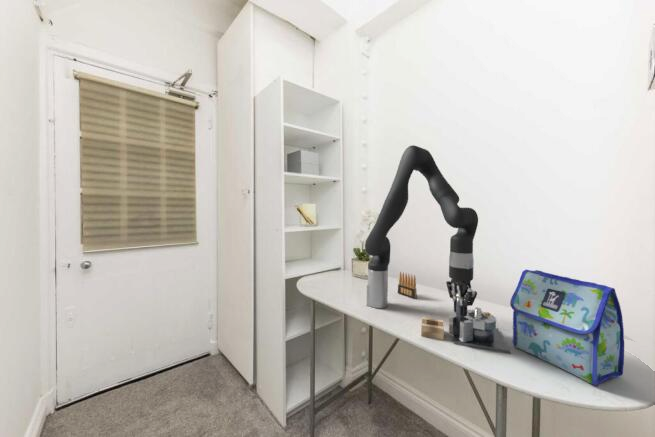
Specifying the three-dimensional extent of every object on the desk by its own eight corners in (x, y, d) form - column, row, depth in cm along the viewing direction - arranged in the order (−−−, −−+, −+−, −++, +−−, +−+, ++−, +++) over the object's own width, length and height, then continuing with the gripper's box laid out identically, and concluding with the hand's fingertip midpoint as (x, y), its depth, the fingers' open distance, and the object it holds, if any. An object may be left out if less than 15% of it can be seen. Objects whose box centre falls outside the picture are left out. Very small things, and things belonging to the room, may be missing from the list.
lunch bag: (504, 348, 85) (507, 270, 84) (537, 338, 91) (539, 266, 90) (593, 393, 65) (598, 291, 63) (627, 377, 71) (632, 284, 69)
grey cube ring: (444, 330, 95) (445, 311, 94) (476, 324, 99) (476, 307, 99) (468, 345, 84) (469, 324, 84) (502, 338, 89) (503, 318, 88)
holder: (421, 336, 93) (421, 325, 93) (421, 327, 100) (422, 317, 100) (443, 340, 90) (443, 328, 90) (442, 330, 97) (442, 320, 97)
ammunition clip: (416, 298, 131) (417, 275, 130) (414, 299, 130) (414, 275, 129) (399, 292, 140) (400, 270, 139) (397, 293, 139) (397, 271, 138)
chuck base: (454, 343, 88) (455, 313, 87) (450, 323, 103) (451, 298, 102) (510, 353, 82) (511, 321, 81) (497, 331, 97) (498, 303, 96)
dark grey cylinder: (453, 325, 91) (454, 292, 91) (460, 325, 92) (461, 291, 91) (459, 329, 88) (459, 294, 88) (466, 328, 89) (466, 294, 88)
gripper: (439, 261, 96) (438, 307, 96) (464, 270, 82) (463, 323, 82) (458, 260, 97) (457, 306, 97) (485, 269, 83) (484, 322, 83)
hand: (460, 313), depth 90 cm, fingers closed on dark grey cylinder, 2 cm apart
